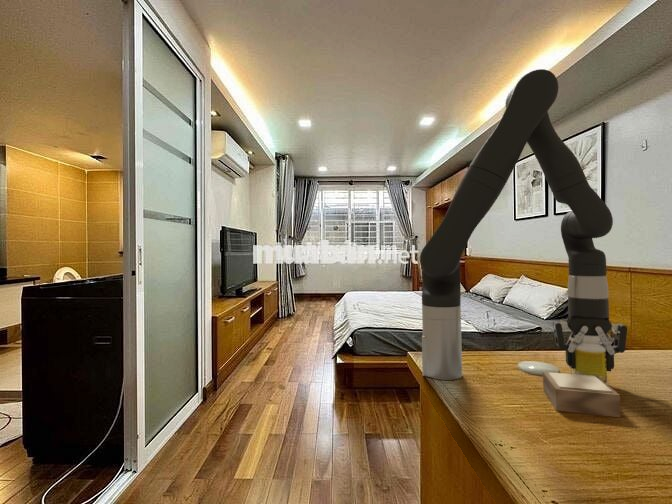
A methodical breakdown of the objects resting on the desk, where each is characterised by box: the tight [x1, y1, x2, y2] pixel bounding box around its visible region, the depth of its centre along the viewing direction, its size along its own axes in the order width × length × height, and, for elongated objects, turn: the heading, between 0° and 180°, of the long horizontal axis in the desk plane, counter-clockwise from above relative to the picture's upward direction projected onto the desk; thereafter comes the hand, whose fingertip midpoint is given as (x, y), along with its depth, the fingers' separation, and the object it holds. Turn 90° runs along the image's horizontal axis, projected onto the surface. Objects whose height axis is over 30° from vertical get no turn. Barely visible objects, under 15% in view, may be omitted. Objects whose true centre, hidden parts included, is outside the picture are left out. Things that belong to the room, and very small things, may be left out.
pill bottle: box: [572, 335, 608, 385], centre depth 79 cm, size 6×6×11 cm
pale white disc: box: [517, 360, 560, 377], centre depth 89 cm, size 9×9×1 cm
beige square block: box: [542, 372, 621, 418], centre depth 69 cm, size 10×10×4 cm
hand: (589, 368), depth 79 cm, fingers closed on pill bottle, 6 cm apart
